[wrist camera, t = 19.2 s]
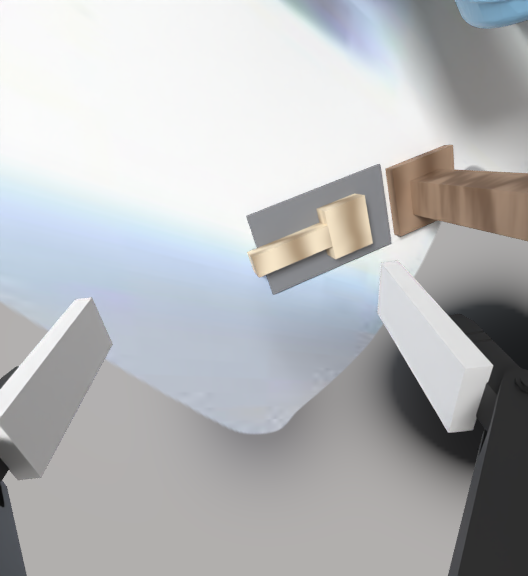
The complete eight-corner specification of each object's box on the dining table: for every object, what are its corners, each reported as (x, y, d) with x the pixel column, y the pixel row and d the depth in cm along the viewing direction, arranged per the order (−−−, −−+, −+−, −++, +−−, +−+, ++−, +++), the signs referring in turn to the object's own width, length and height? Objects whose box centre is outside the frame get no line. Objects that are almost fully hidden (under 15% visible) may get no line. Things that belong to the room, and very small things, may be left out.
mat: (272, 293, 49) (273, 294, 48) (246, 216, 43) (246, 216, 43) (389, 242, 51) (391, 243, 51) (378, 163, 46) (380, 164, 46)
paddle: (258, 283, 47) (263, 290, 45) (242, 238, 44) (247, 243, 42) (363, 239, 49) (372, 243, 47) (354, 193, 46) (364, 195, 44)
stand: (394, 234, 51) (655, 321, 24) (385, 168, 47) (691, 187, 20) (448, 210, 53) (750, 268, 26) (444, 145, 48) (803, 133, 22)
